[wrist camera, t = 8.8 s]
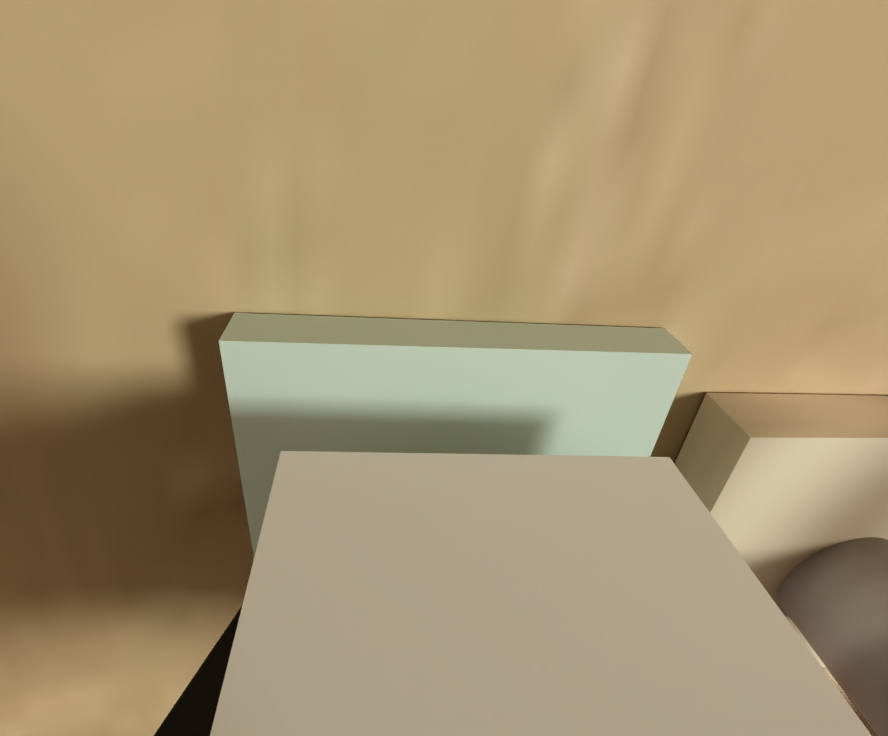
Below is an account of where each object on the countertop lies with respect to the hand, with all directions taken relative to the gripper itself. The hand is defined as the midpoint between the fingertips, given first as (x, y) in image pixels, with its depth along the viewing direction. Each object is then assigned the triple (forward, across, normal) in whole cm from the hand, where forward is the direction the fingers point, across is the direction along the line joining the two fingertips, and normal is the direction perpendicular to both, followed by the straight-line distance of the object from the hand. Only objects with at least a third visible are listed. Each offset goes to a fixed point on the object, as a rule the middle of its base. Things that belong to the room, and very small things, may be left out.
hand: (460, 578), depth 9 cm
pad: (+2, 0, 0) cm, 2 cm away
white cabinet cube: (0, 0, 0) cm, 0 cm away
